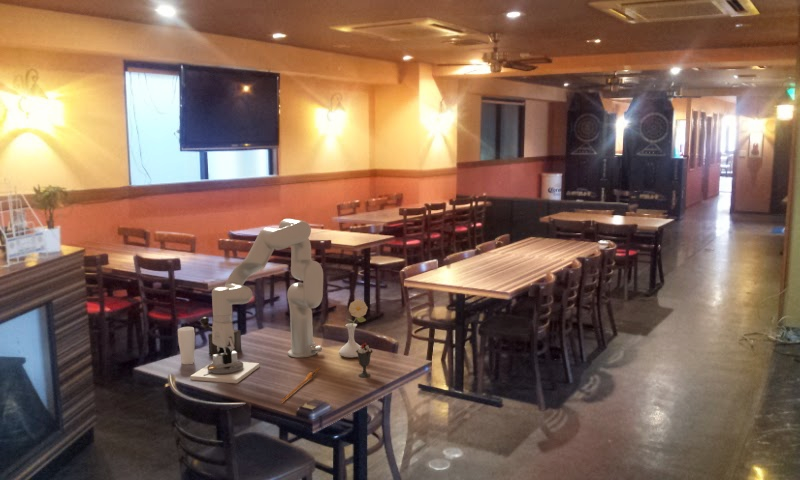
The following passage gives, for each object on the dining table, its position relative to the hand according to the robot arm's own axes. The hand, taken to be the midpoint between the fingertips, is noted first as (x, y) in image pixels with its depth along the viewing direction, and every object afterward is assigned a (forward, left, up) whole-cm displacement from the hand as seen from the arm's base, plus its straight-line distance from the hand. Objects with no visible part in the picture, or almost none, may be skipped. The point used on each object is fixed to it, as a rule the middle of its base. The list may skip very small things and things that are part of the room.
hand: (224, 361), depth 277 cm
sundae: (-56, -9, -5) cm, 57 cm away
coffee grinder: (+14, -22, -5) cm, 27 cm away
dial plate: (0, 0, -5) cm, 5 cm away
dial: (0, 0, -3) cm, 3 cm away
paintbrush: (-36, +8, -5) cm, 37 cm away
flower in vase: (-44, -32, -5) cm, 55 cm away
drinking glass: (+22, -8, -5) cm, 24 cm away
